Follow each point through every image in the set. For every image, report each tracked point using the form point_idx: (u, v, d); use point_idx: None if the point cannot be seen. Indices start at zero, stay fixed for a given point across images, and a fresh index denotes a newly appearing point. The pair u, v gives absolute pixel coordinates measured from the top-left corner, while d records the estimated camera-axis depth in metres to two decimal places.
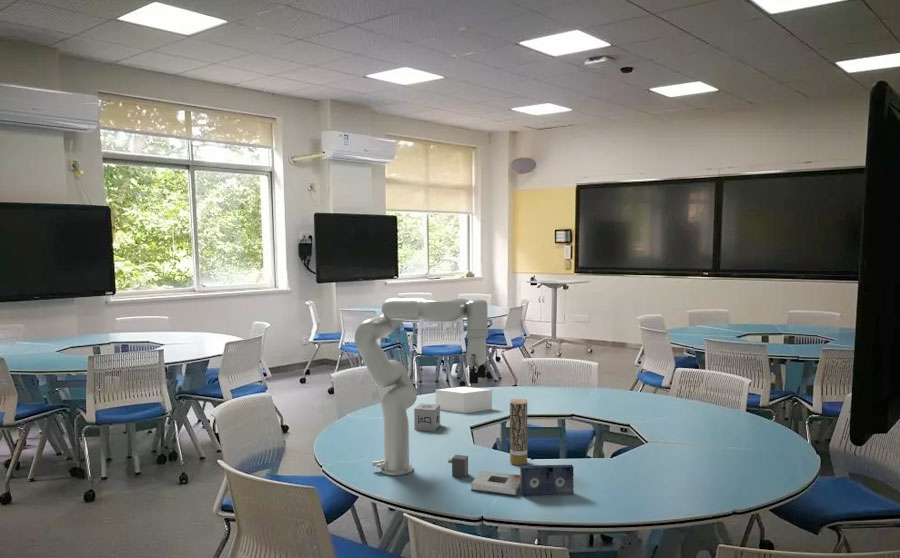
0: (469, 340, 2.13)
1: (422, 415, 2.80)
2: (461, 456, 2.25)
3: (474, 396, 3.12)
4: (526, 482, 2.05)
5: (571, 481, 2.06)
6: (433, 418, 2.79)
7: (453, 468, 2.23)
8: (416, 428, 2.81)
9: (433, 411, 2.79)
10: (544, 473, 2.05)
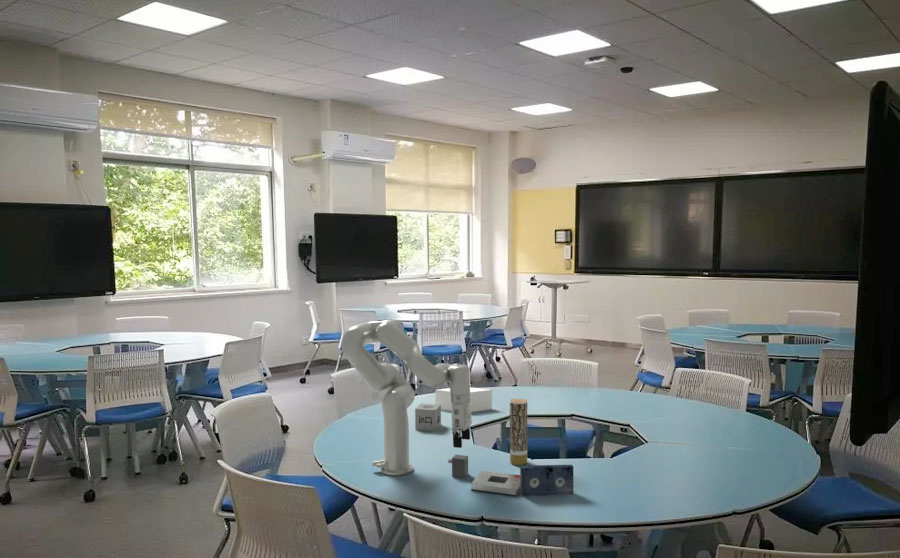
0: None
1: (423, 415, 2.80)
2: (461, 456, 2.25)
3: (474, 396, 3.12)
4: (526, 482, 2.05)
5: (571, 481, 2.06)
6: (434, 418, 2.79)
7: (453, 468, 2.23)
8: (417, 428, 2.81)
9: (434, 411, 2.79)
10: (544, 473, 2.05)
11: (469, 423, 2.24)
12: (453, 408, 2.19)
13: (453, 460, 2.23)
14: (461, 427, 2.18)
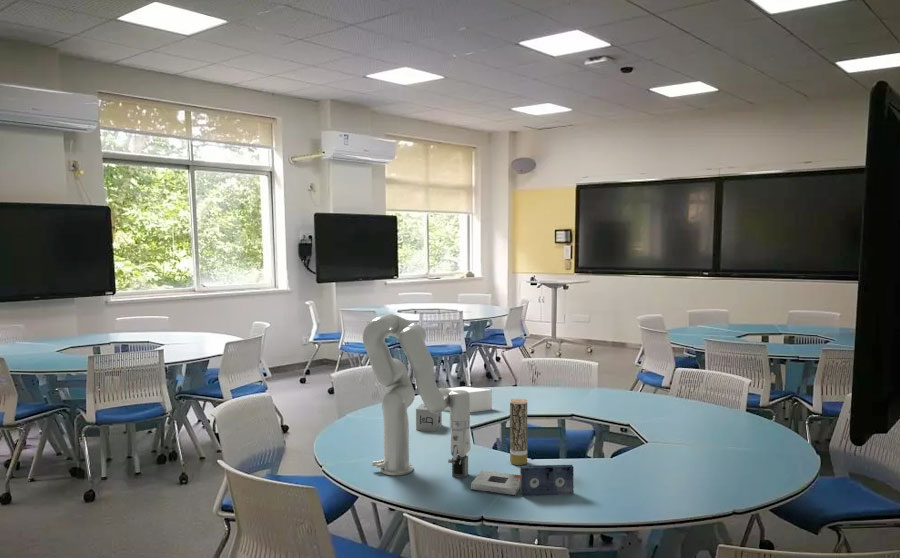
0: None
1: (424, 415, 2.80)
2: None
3: (474, 396, 3.12)
4: (526, 482, 2.05)
5: (571, 481, 2.06)
6: (435, 418, 2.79)
7: (453, 468, 2.23)
8: (418, 428, 2.81)
9: None
10: (544, 473, 2.05)
11: (468, 449, 2.24)
12: (452, 434, 2.20)
13: None
14: (460, 453, 2.18)
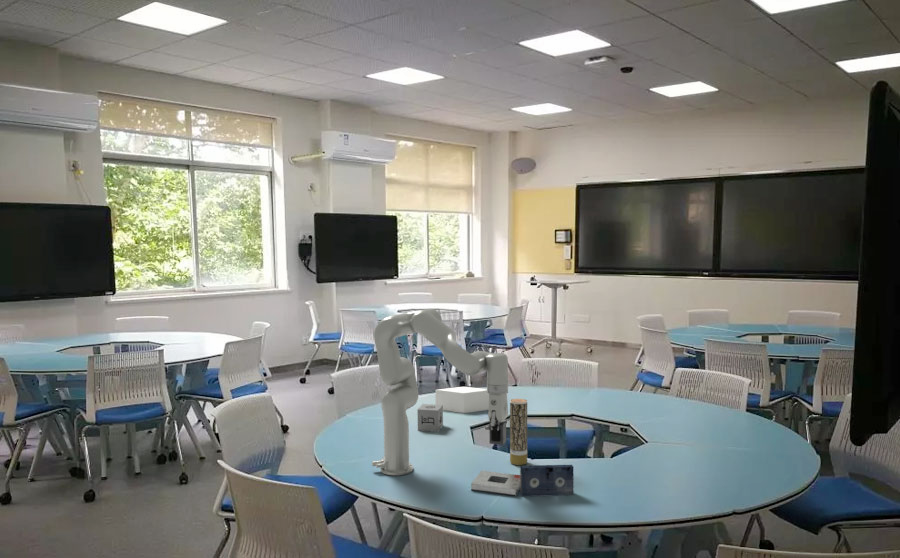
0: None
1: (425, 416, 2.79)
2: None
3: (474, 396, 3.12)
4: (526, 482, 2.05)
5: (571, 481, 2.06)
6: (437, 419, 2.78)
7: (490, 435, 2.11)
8: (419, 429, 2.80)
9: (437, 411, 2.78)
10: (544, 473, 2.05)
11: (506, 415, 2.13)
12: (490, 398, 2.08)
13: (490, 426, 2.11)
14: (498, 419, 2.07)
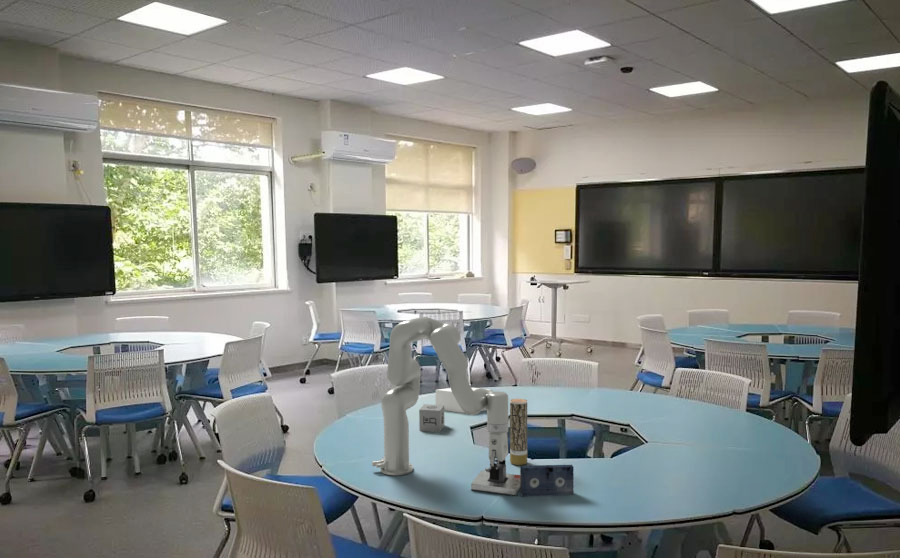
0: None
1: (427, 416, 2.79)
2: (499, 465, 2.14)
3: None
4: (526, 482, 2.05)
5: (571, 481, 2.06)
6: (438, 419, 2.78)
7: None
8: (421, 429, 2.80)
9: (438, 412, 2.78)
10: (544, 473, 2.05)
11: (506, 453, 2.13)
12: (491, 438, 2.09)
13: None
14: (499, 458, 2.08)
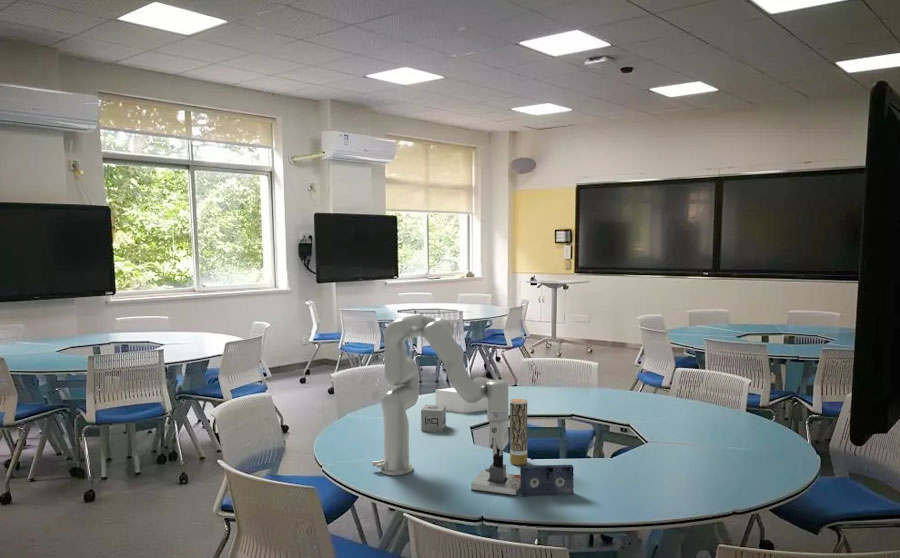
0: None
1: (429, 416, 2.78)
2: None
3: None
4: (526, 482, 2.05)
5: (571, 481, 2.06)
6: (440, 419, 2.78)
7: (491, 477, 2.12)
8: (423, 429, 2.79)
9: (440, 412, 2.77)
10: (544, 473, 2.05)
11: (506, 442, 2.13)
12: (491, 426, 2.09)
13: (491, 469, 2.12)
14: (499, 446, 2.07)
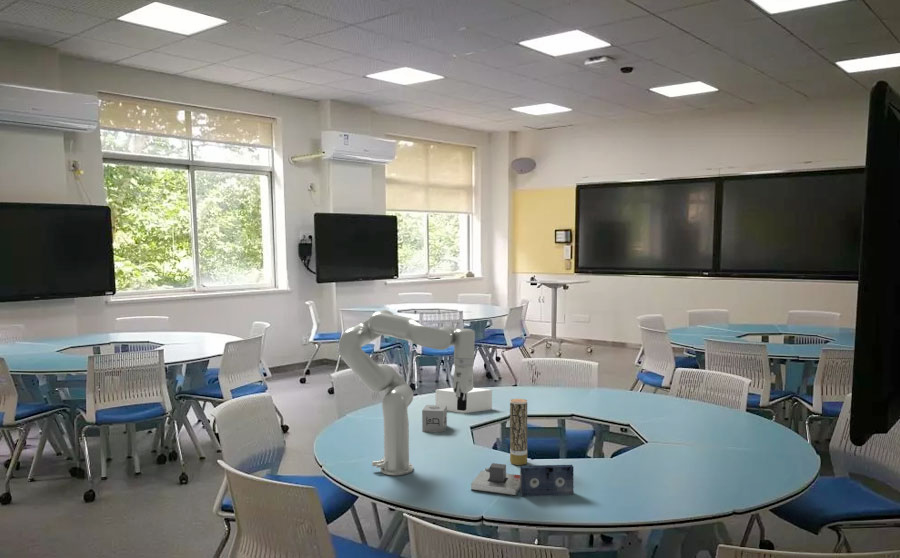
0: None
1: (430, 416, 2.78)
2: (499, 465, 2.14)
3: (474, 396, 3.12)
4: (526, 482, 2.05)
5: (571, 481, 2.06)
6: (442, 419, 2.77)
7: (491, 477, 2.12)
8: (424, 430, 2.79)
9: (442, 412, 2.77)
10: (544, 473, 2.05)
11: (470, 387, 2.24)
12: (455, 371, 2.20)
13: (491, 469, 2.12)
14: (462, 390, 2.19)
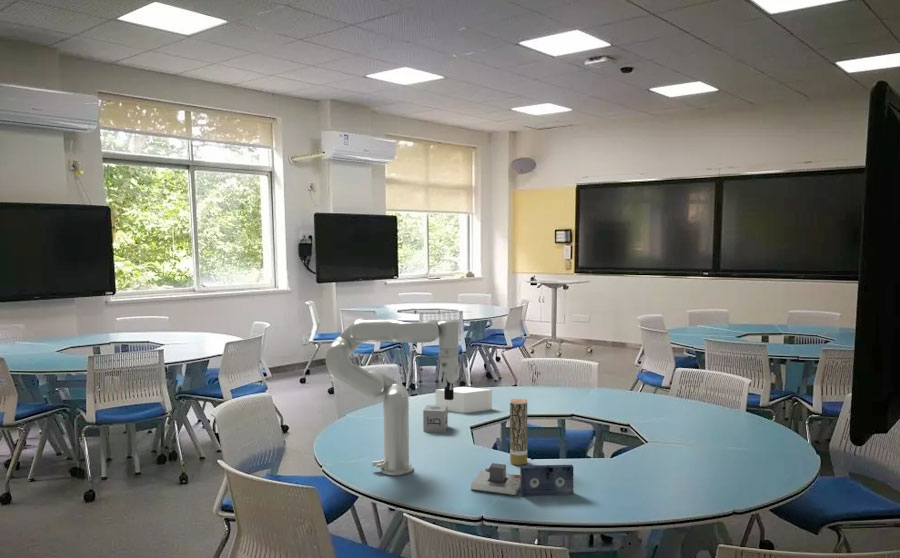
0: None
1: (431, 417, 2.78)
2: (499, 465, 2.14)
3: (474, 396, 3.12)
4: (526, 482, 2.05)
5: (571, 481, 2.06)
6: (443, 419, 2.77)
7: (491, 477, 2.12)
8: (425, 430, 2.78)
9: (443, 412, 2.77)
10: (544, 473, 2.05)
11: (456, 377, 2.30)
12: (441, 361, 2.26)
13: (491, 469, 2.12)
14: (448, 379, 2.24)
